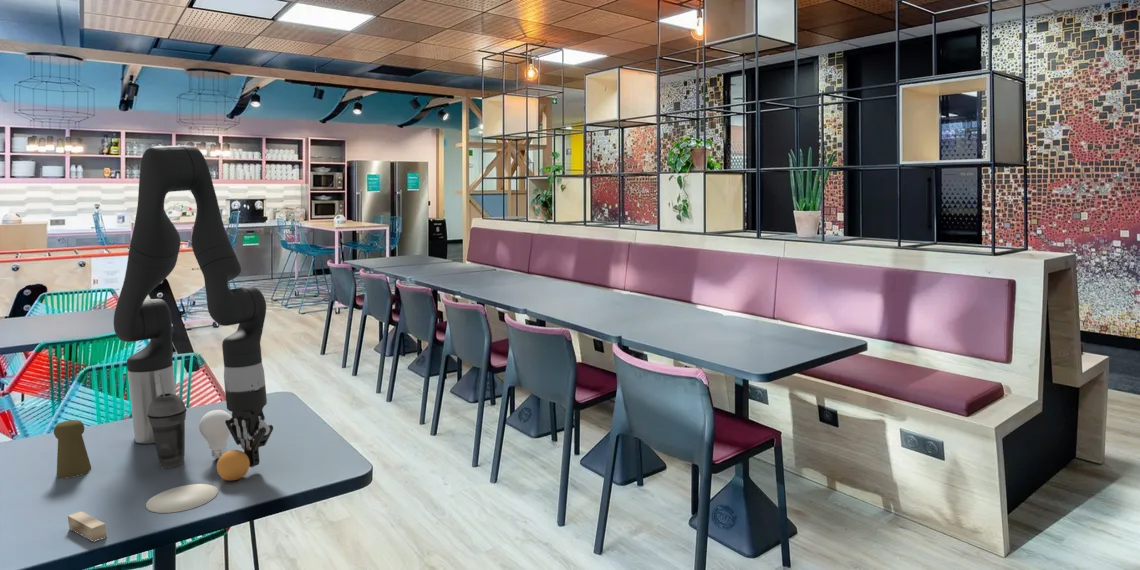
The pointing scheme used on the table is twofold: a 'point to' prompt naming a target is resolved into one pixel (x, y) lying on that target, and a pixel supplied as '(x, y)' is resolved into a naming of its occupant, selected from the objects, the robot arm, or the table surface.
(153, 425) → the beverage cup
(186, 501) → the plate
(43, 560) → the table surface
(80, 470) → the cork
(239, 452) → the ball
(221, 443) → the light bulb
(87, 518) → the rail
